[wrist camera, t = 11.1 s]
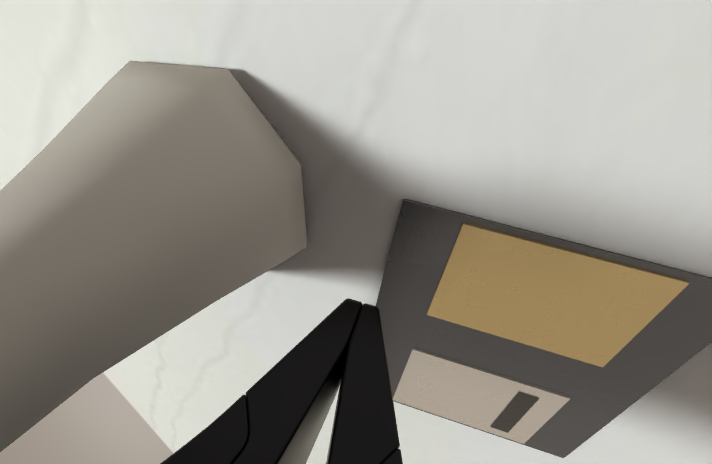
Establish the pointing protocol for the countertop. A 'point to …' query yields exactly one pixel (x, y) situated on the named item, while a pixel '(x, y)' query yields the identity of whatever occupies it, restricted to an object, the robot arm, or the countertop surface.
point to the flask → (135, 228)
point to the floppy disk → (529, 327)
